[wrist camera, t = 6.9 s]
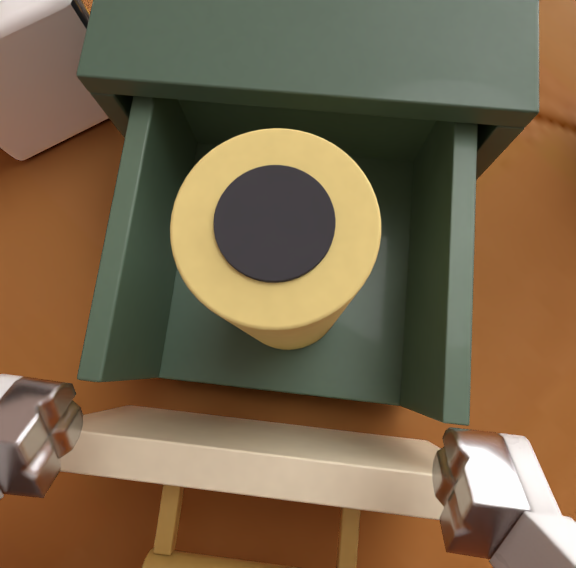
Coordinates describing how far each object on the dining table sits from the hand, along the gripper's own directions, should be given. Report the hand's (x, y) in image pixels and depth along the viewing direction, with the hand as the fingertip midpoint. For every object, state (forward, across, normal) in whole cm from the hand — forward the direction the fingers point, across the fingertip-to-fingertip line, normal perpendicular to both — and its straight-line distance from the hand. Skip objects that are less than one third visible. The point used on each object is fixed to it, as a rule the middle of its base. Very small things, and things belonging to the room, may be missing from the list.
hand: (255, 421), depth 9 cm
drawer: (+9, 0, +5) cm, 10 cm away
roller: (+9, 0, +3) cm, 10 cm away
